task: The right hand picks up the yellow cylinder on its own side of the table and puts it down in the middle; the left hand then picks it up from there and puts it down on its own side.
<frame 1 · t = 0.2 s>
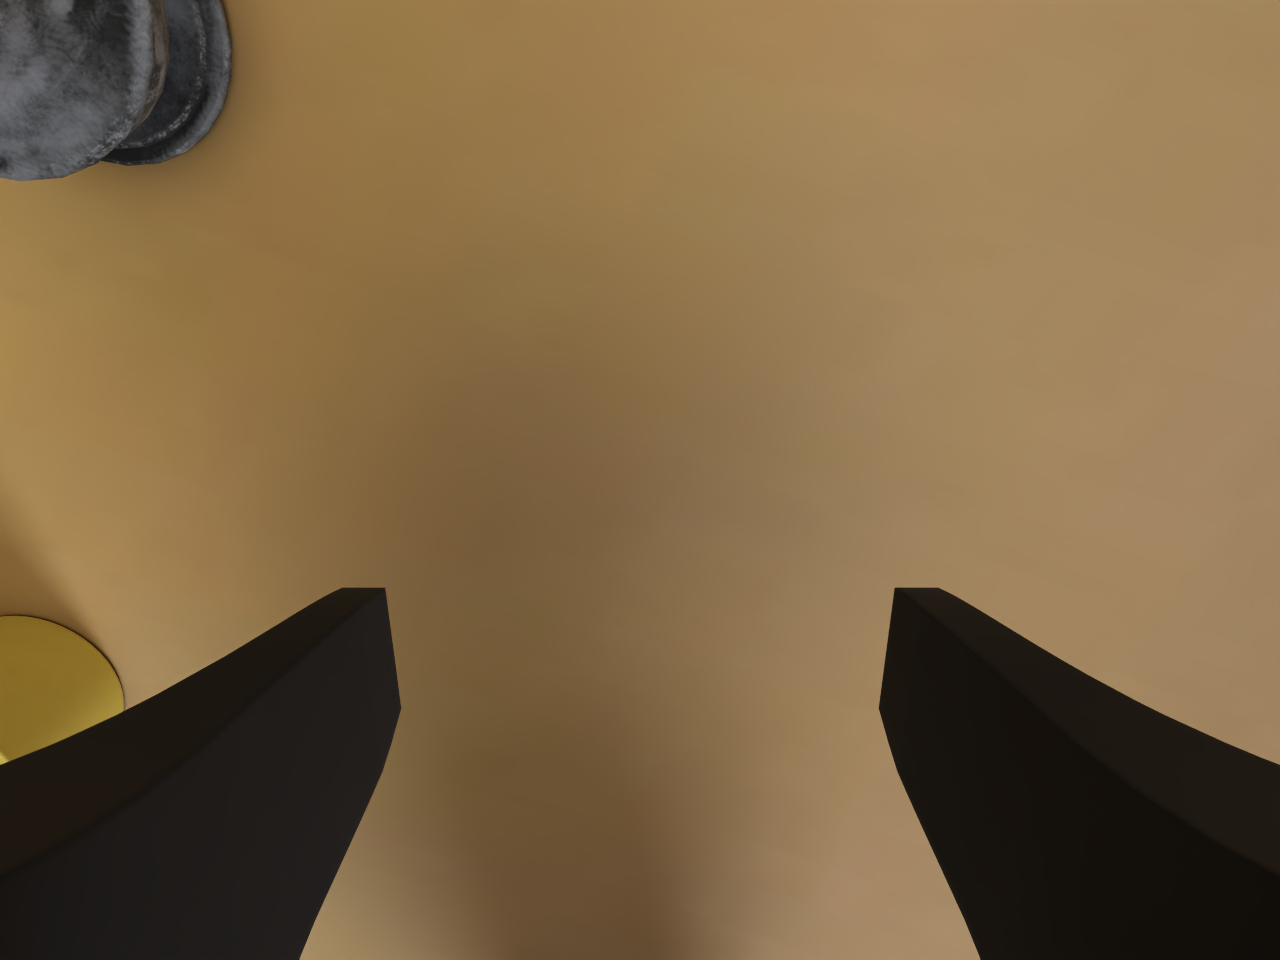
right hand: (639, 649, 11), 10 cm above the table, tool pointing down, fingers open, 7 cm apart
grey tiered upright piece: (113, 35, 17), on the table
yellow cylinder: (38, 687, 23), on the table
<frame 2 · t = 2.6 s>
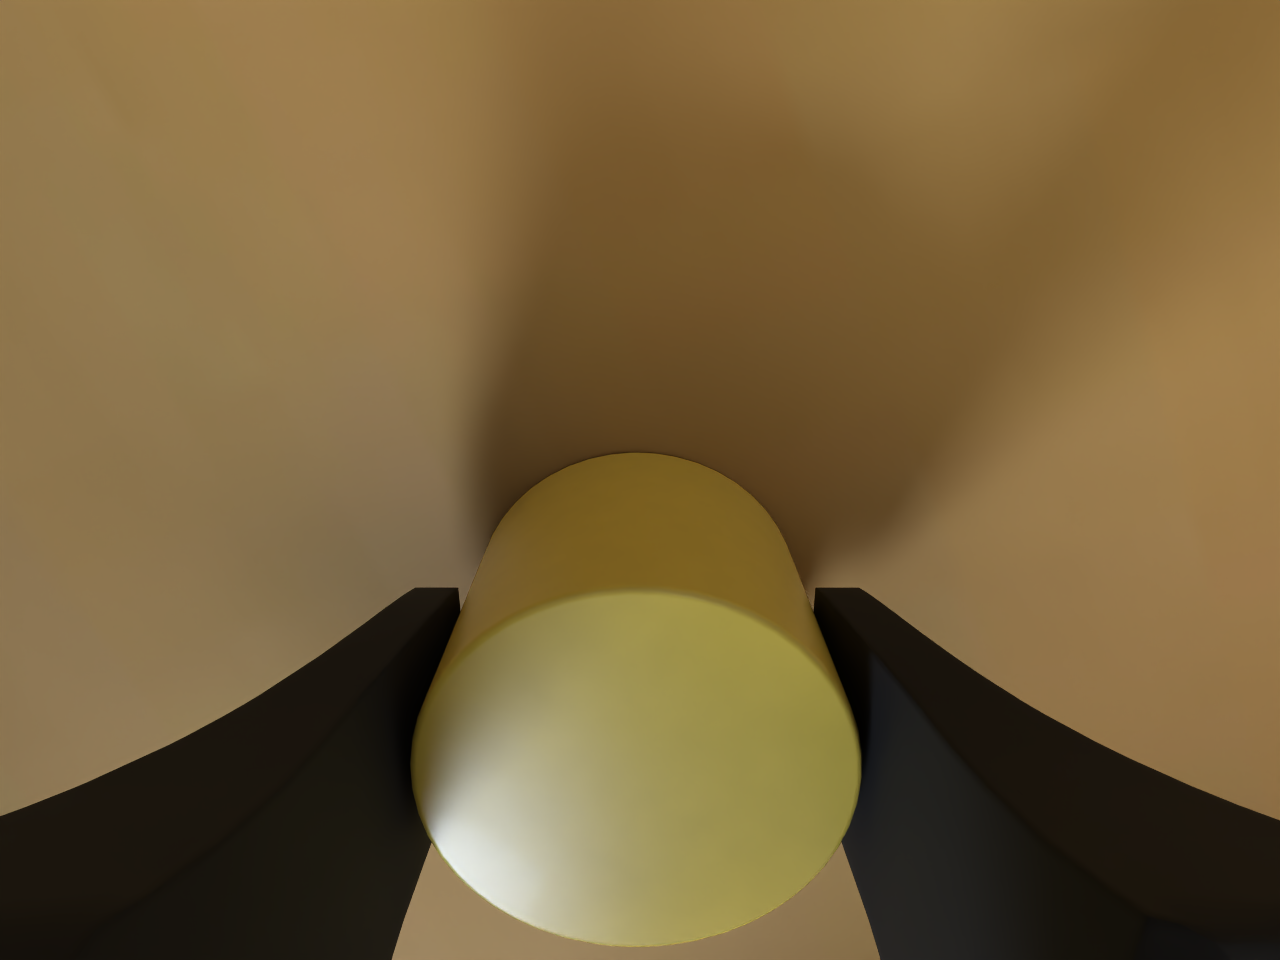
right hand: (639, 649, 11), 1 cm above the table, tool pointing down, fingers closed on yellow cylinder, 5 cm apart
yellow cylinder: (637, 599, 13), on the table, touching right hand
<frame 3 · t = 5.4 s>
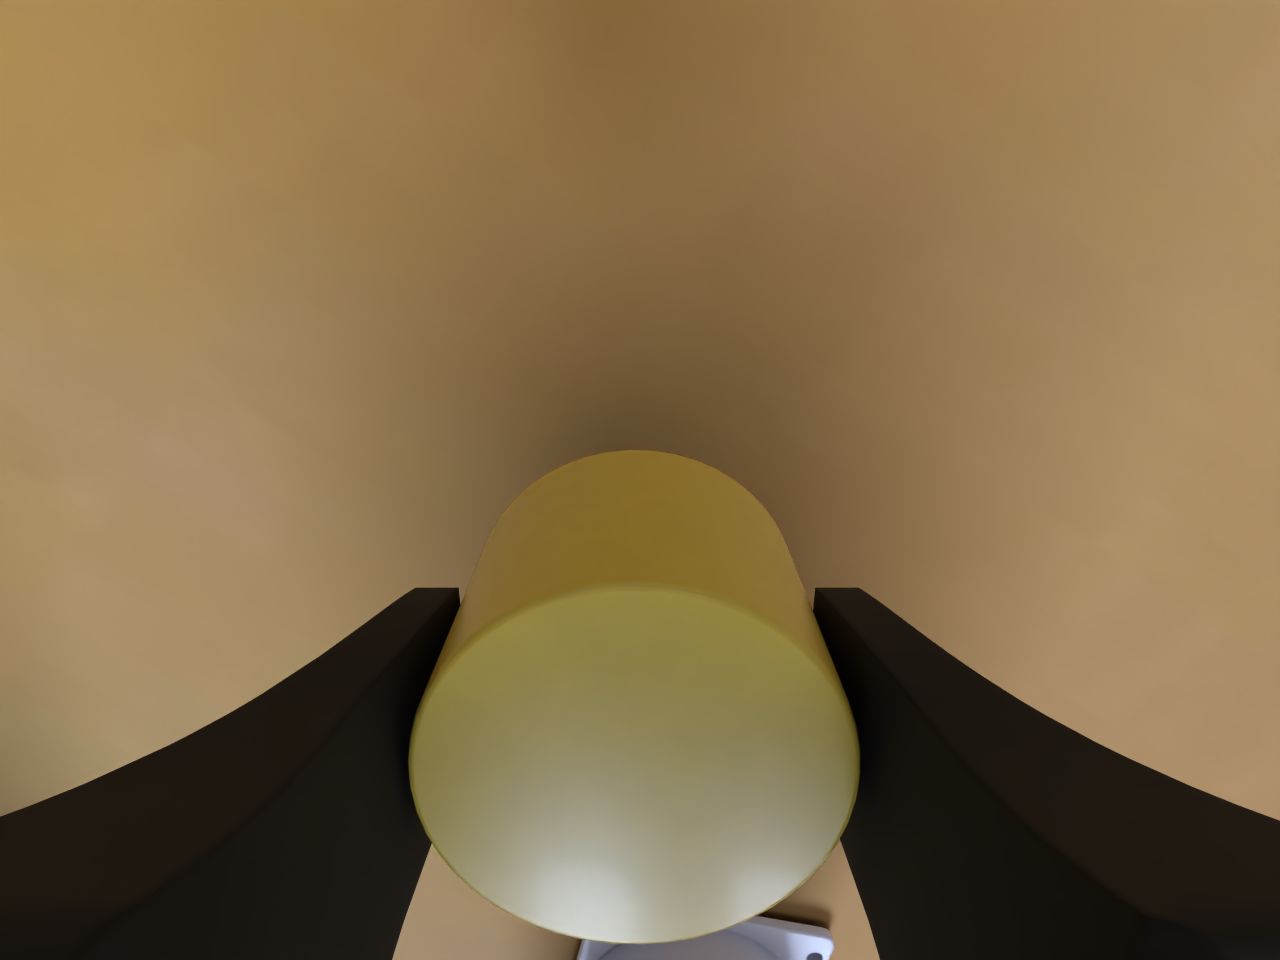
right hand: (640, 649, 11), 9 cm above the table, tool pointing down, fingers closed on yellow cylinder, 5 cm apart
yellow cylinder: (636, 597, 13), point 8 cm above the table, touching right hand
when the right hand's fingers open (3 cm above the table, at t = 8.4 s): yellow cylinder drops 1 cm, on the table.
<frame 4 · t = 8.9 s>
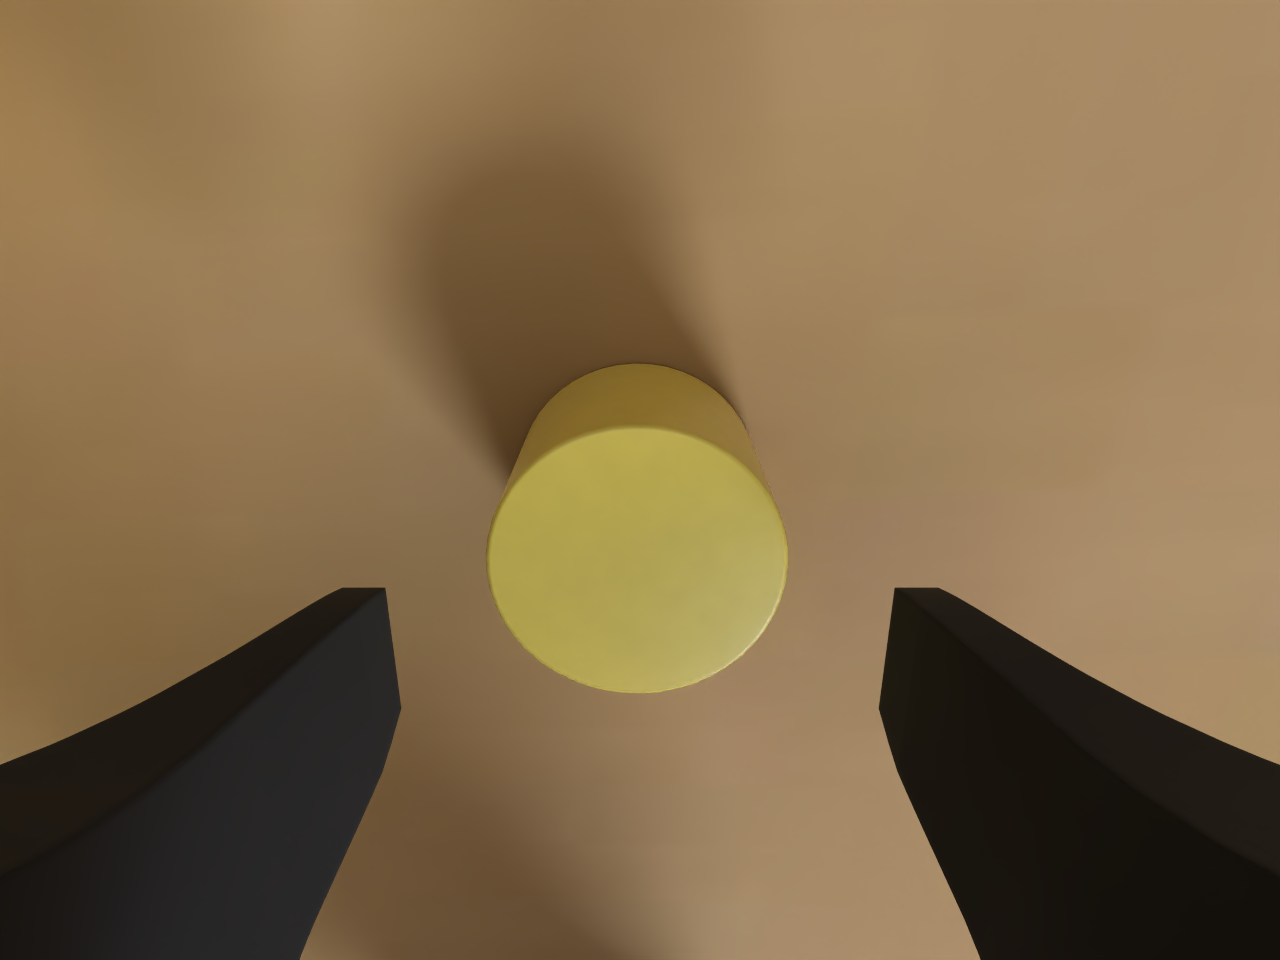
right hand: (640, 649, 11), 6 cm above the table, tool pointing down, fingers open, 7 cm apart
yellow cylinder: (637, 477, 17), on the table
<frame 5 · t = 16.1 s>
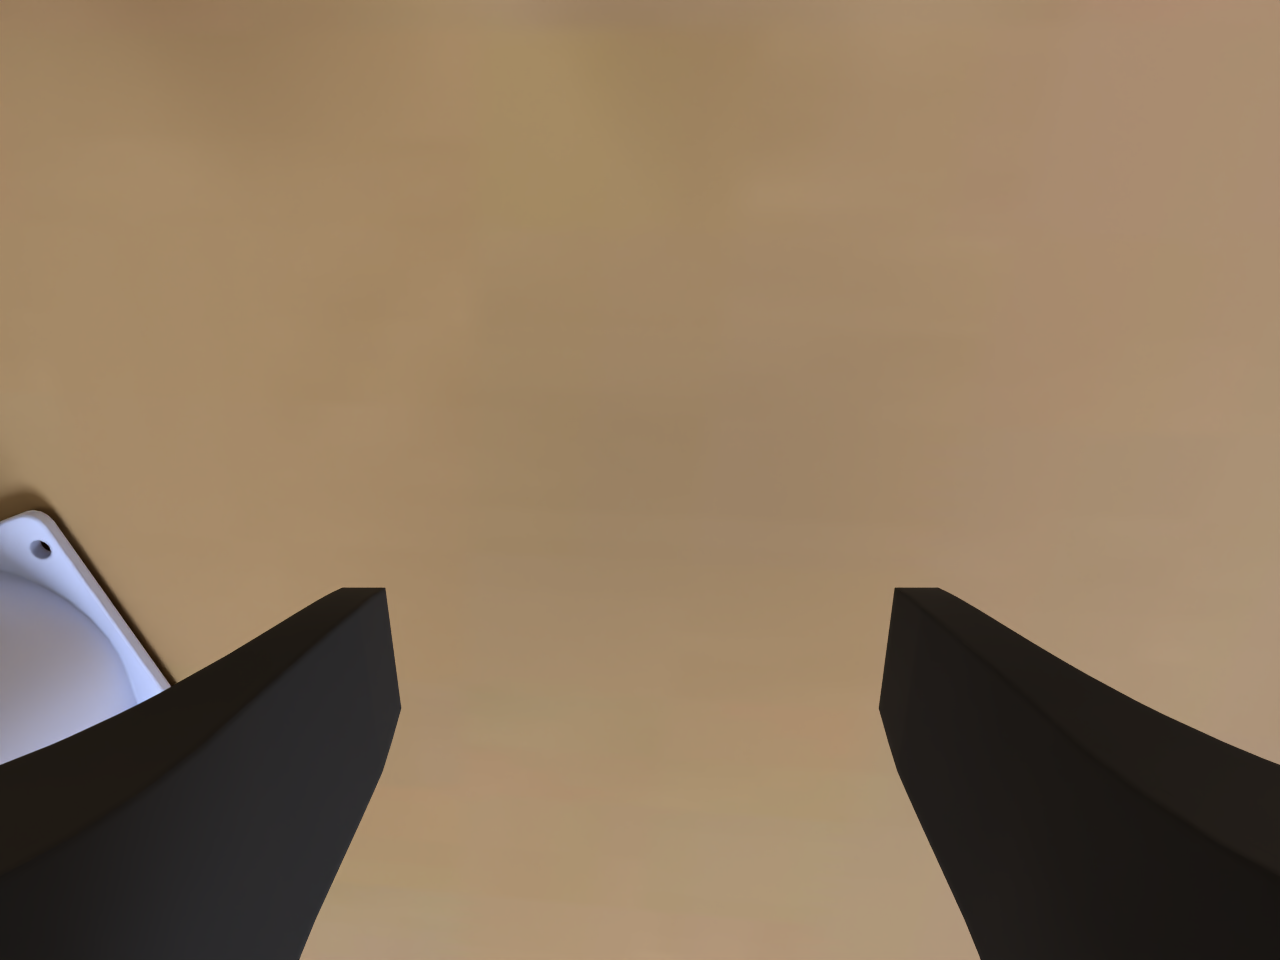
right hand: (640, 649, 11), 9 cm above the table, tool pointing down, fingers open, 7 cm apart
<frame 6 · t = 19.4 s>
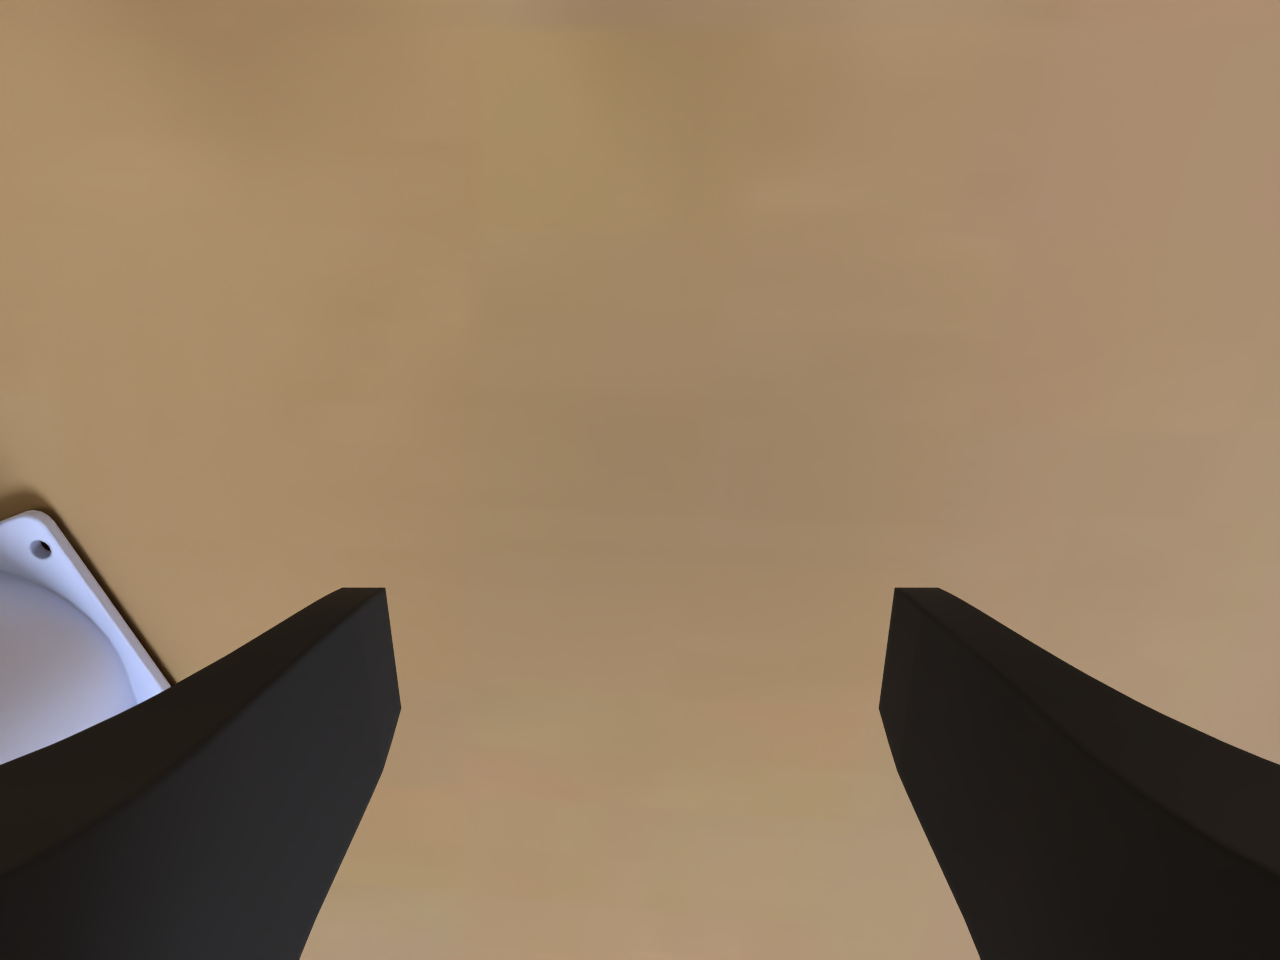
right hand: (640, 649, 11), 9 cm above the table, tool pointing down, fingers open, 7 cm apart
when the left hand's fingers open (1 cm above the table, at t = 23.1 s): yellow cylinder stays where it is, on the table.
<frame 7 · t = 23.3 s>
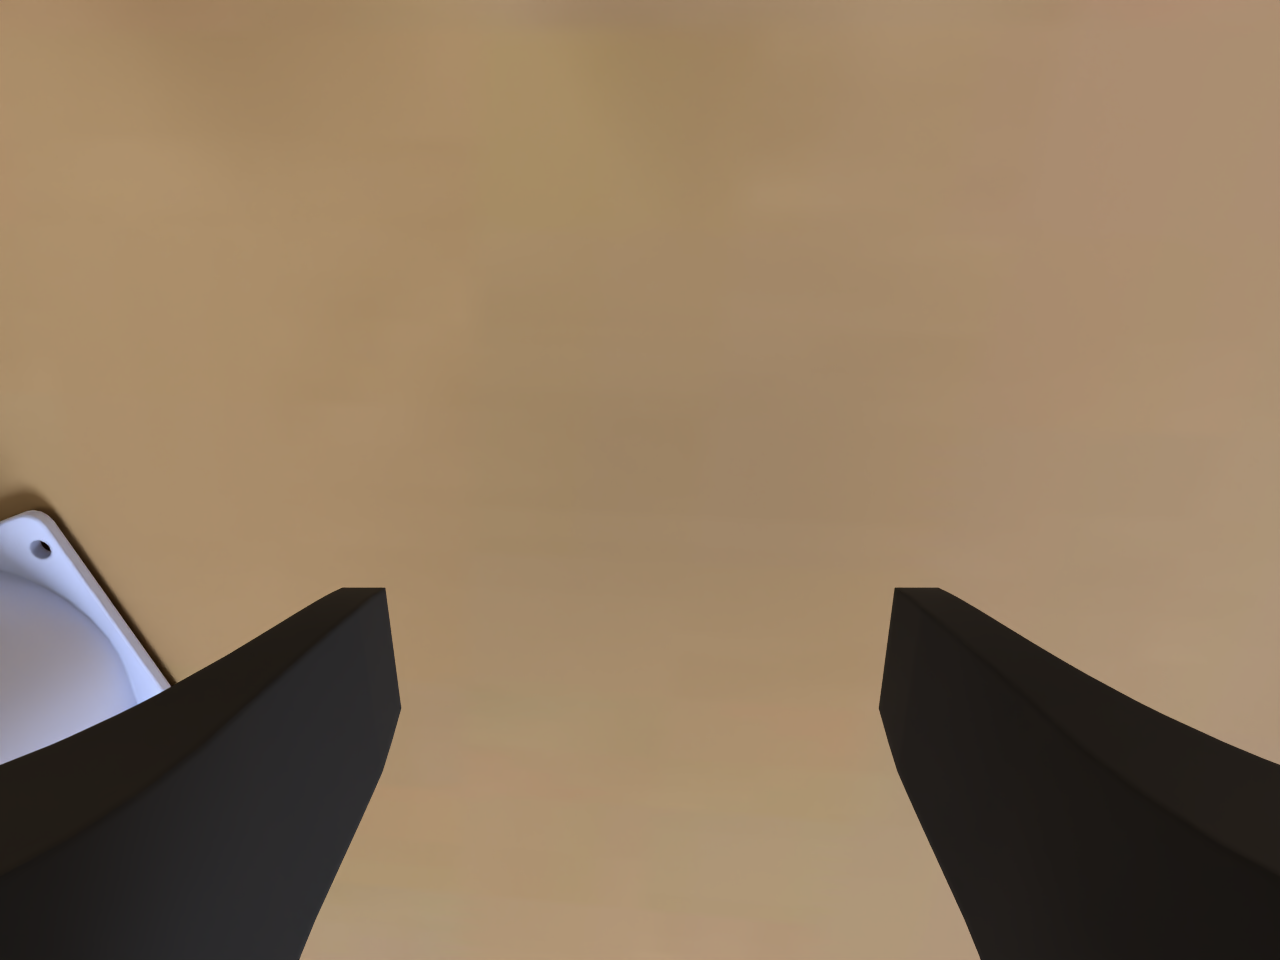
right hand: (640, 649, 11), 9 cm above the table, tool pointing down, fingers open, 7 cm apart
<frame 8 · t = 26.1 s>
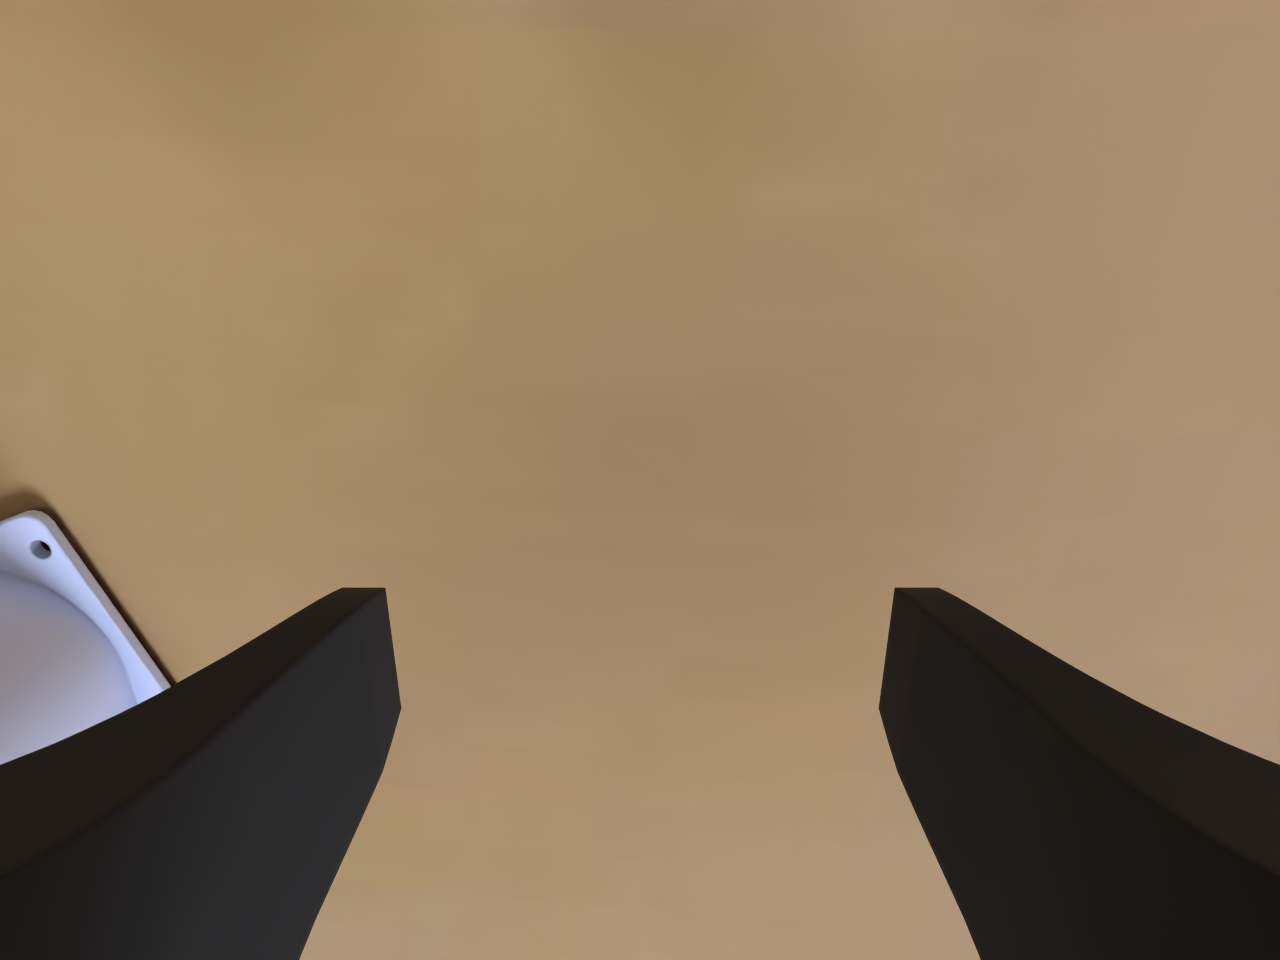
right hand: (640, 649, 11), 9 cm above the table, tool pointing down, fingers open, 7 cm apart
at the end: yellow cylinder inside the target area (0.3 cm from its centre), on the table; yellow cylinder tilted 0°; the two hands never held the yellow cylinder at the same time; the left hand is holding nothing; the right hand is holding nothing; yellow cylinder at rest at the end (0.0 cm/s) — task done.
